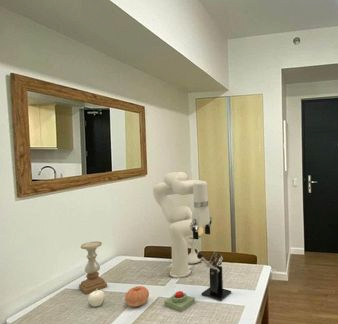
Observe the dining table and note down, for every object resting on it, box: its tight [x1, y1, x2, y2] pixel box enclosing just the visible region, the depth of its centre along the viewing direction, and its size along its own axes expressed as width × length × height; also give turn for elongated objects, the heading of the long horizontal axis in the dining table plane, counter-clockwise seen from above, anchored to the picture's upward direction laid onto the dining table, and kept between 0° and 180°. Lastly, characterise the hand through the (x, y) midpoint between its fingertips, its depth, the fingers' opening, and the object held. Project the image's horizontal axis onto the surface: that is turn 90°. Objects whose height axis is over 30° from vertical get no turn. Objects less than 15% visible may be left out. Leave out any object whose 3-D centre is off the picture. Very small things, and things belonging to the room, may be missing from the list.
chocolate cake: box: [208, 250, 224, 267], centre depth 180 cm, size 10×7×12 cm
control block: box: [163, 292, 196, 312], centre depth 132 cm, size 11×9×4 cm
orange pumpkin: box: [124, 285, 150, 308], centre depth 132 cm, size 11×11×8 cm
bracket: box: [201, 265, 232, 302], centre depth 140 cm, size 12×9×14 cm
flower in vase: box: [188, 226, 204, 264], centre depth 183 cm, size 13×11×25 cm
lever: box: [197, 252, 220, 273], centre depth 142 cm, size 15×3×3 cm, turn 59°
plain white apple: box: [87, 288, 106, 307], centre depth 133 cm, size 7×7×8 cm
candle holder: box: [78, 240, 108, 295], centre depth 150 cm, size 11×11×24 cm
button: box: [174, 290, 184, 298], centre depth 131 cm, size 4×4×2 cm
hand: (201, 236), depth 146 cm, fingers open, 9 cm apart
